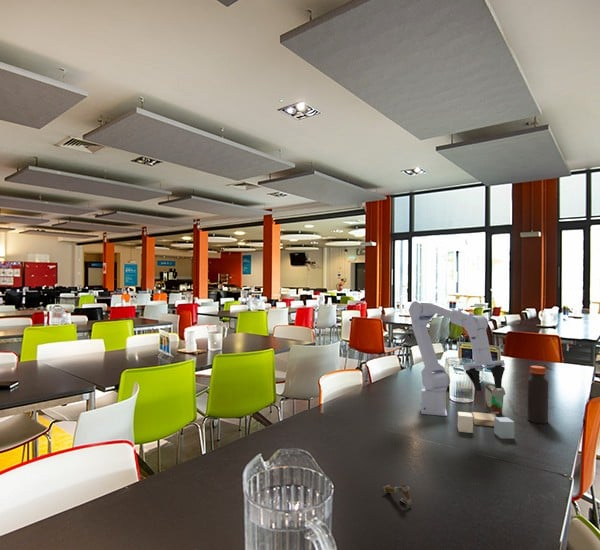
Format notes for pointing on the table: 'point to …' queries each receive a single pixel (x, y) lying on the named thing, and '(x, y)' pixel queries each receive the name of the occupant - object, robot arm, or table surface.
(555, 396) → the table surface
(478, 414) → the oak slab
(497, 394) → the food container
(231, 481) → the table surface
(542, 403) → the bottle
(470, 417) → the cream block
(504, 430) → the slate block
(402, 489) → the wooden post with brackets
